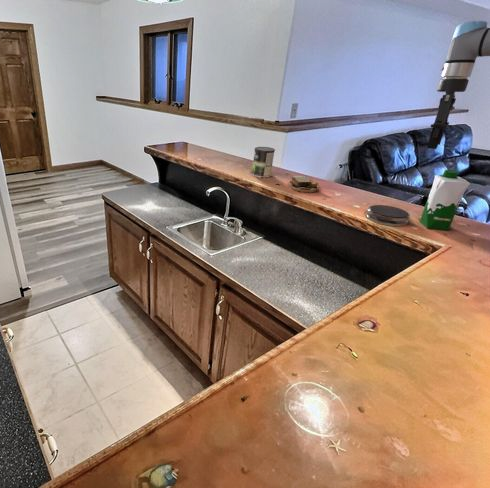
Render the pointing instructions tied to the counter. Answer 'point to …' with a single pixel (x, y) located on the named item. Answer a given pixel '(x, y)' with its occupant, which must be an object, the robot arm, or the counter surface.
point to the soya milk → (443, 200)
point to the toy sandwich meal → (303, 184)
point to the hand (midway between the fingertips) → (433, 146)
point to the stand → (387, 215)
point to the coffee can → (262, 162)
